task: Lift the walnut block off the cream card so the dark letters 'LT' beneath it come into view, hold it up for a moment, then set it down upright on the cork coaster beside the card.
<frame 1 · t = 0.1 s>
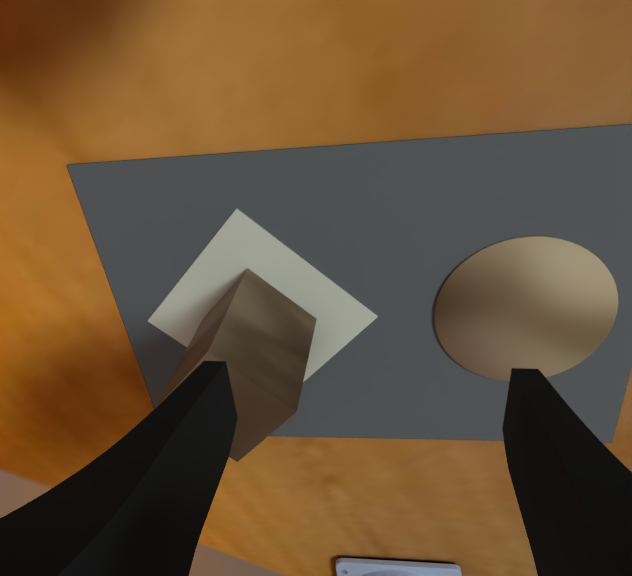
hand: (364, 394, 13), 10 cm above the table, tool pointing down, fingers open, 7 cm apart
cork coaster: (522, 312, 23), resting on charcoal mat
walnut block: (258, 319, 25), resting on code card
charcoal mat: (363, 315, 24), on the table
code card: (259, 317, 25), resting on charcoal mat
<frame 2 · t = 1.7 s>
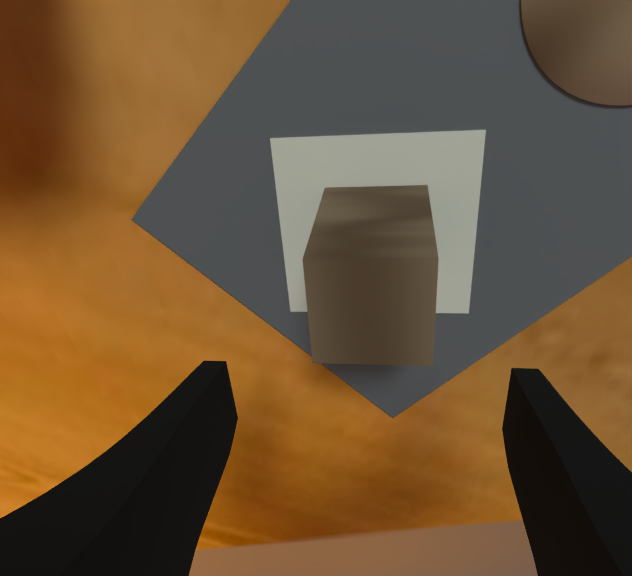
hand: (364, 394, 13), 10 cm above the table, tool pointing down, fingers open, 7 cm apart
walnut block: (376, 232, 22), resting on code card
charcoal mat: (471, 142, 19), on the table
code card: (376, 230, 22), resting on charcoal mat
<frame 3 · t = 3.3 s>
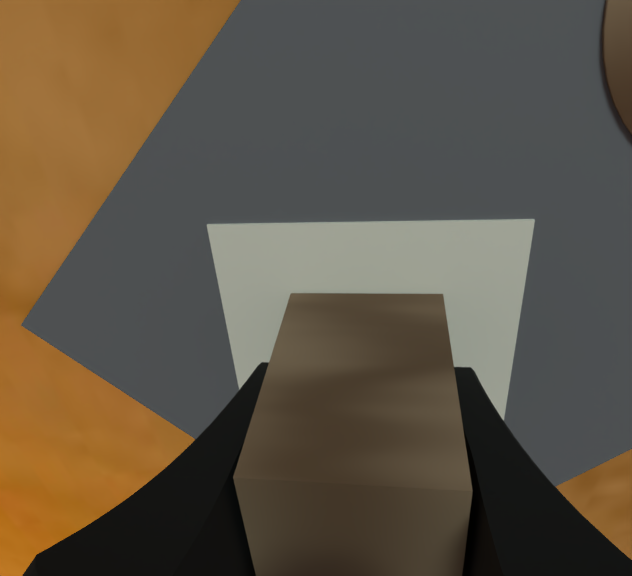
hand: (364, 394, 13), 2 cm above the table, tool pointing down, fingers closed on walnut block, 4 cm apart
walnut block: (366, 353, 15), resting on code card, touching gripper
charcoal mat: (510, 235, 13), on the table
code card: (367, 348, 15), resting on charcoal mat
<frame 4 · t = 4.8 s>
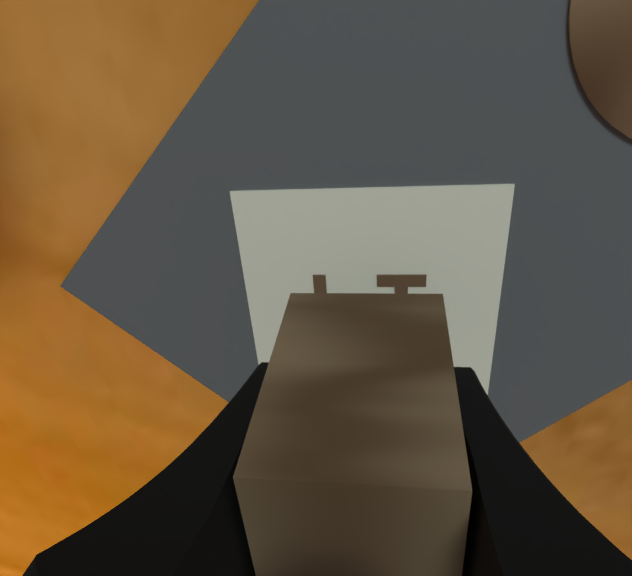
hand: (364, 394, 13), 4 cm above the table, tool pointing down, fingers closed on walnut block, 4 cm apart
walnut block: (366, 353, 15), point 3 cm above the table, touching gripper
charcoal mat: (494, 199, 15), on the table
code card: (369, 304, 17), resting on charcoal mat
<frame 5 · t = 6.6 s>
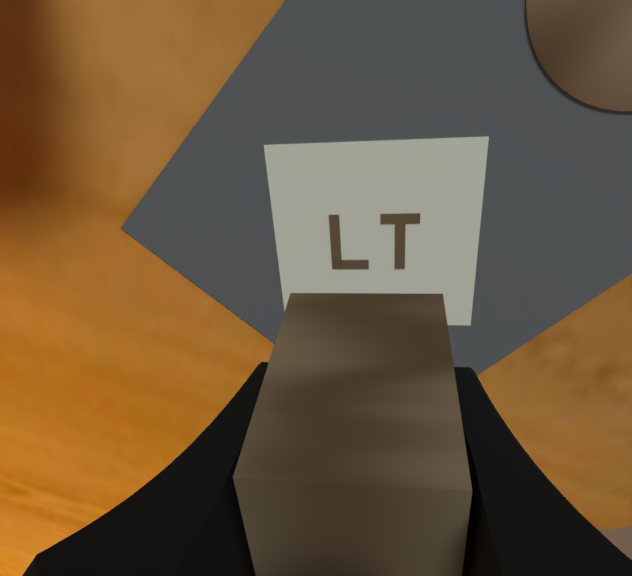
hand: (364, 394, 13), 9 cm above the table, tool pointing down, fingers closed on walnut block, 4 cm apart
walnut block: (366, 353, 15), point 7 cm above the table, touching gripper
charcoal mat: (473, 149, 19), on the table
code card: (374, 240, 21), resting on charcoal mat
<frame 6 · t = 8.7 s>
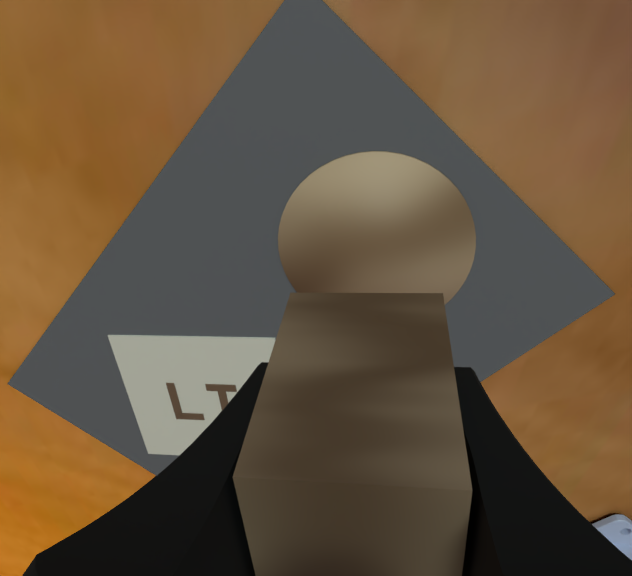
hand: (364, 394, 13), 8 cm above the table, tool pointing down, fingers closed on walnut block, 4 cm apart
cork coaster: (374, 246, 21), resting on charcoal mat
walnut block: (366, 352, 15), point 7 cm above the table, touching gripper
charcoal mat: (266, 344, 24), on the table
code card: (206, 399, 26), resting on charcoal mat
when the fingers open (3 cm above the table, at t = 10.2 s): walnut block drops 1 cm, resting on cork coaster.
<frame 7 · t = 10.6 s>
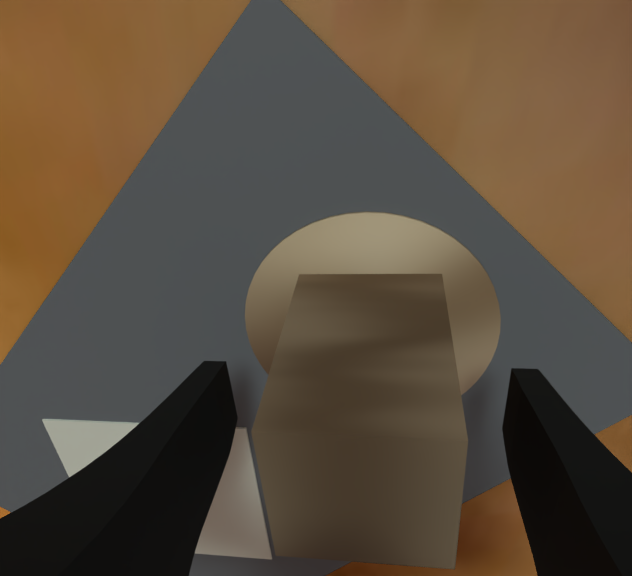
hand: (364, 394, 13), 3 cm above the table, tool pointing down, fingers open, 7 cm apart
cork coaster: (368, 326, 16), resting on charcoal mat
walnut block: (370, 331, 16), resting on cork coaster
charcoal mat: (236, 434, 19), on the table
code card: (166, 491, 22), resting on charcoal mat
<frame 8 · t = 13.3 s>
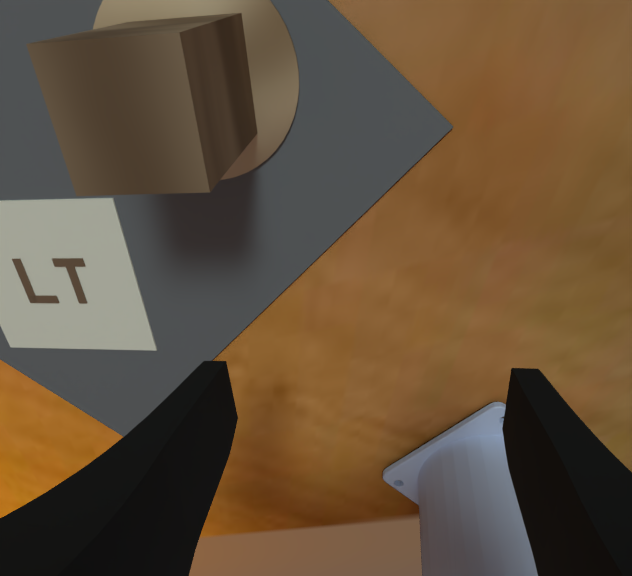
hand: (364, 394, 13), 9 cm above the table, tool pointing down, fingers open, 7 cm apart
cork coaster: (196, 77, 19), resting on charcoal mat
walnut block: (195, 79, 19), resting on cork coaster
charcoal mat: (107, 207, 22), on the table
code card: (57, 279, 25), resting on charcoal mat
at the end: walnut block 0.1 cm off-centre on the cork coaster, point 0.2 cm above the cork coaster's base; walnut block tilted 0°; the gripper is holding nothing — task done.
